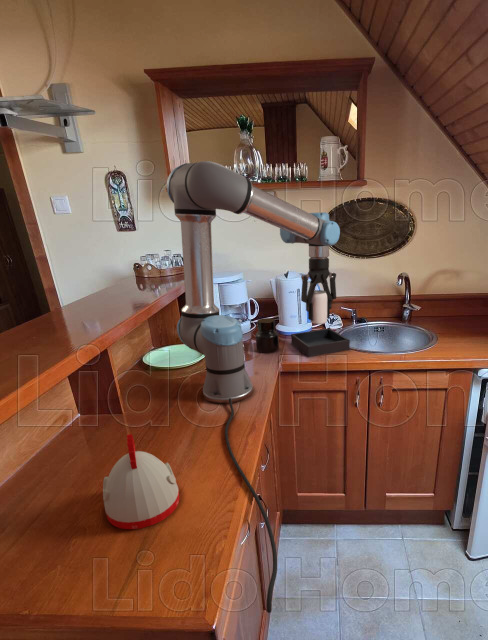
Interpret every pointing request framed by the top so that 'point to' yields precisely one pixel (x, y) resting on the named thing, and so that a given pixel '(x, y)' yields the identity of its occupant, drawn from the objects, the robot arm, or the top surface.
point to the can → (319, 307)
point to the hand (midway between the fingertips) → (318, 318)
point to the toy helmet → (139, 490)
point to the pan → (320, 342)
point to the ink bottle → (267, 336)
